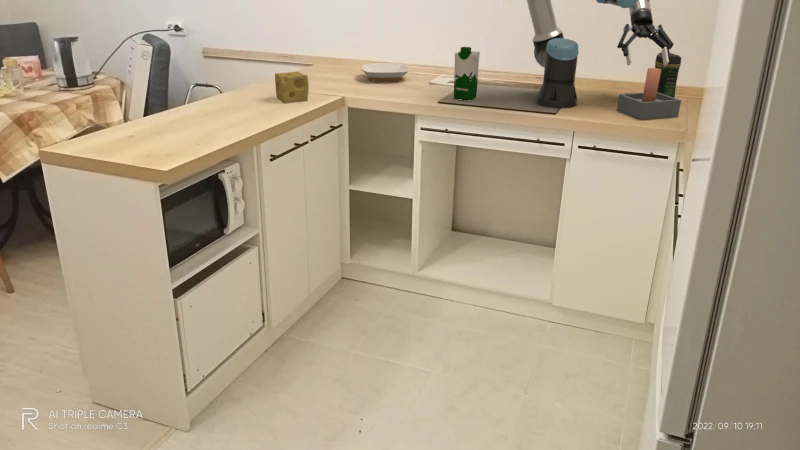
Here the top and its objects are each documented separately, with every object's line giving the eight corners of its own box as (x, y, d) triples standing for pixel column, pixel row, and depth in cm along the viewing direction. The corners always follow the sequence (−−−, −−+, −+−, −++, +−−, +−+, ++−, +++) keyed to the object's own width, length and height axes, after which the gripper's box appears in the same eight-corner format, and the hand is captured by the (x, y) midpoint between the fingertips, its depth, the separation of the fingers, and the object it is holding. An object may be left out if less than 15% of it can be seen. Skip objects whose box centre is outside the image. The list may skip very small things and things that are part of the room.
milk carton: (450, 99, 250) (452, 47, 242) (458, 95, 257) (461, 44, 249) (471, 102, 247) (474, 49, 238) (479, 97, 254) (482, 46, 246)
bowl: (359, 74, 294) (359, 63, 292) (406, 74, 297) (406, 62, 294) (362, 84, 275) (362, 72, 273) (412, 83, 277) (412, 71, 275)
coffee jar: (677, 103, 247) (686, 54, 239) (657, 104, 246) (666, 55, 238) (664, 98, 255) (672, 50, 248) (645, 98, 254) (653, 51, 247)
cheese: (283, 104, 242) (281, 77, 238) (275, 98, 251) (273, 72, 247) (309, 101, 246) (308, 75, 242) (300, 95, 255) (298, 70, 251)
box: (640, 119, 224) (643, 103, 222) (616, 110, 236) (618, 94, 234) (677, 116, 229) (681, 100, 226) (652, 107, 241) (655, 91, 238)
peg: (645, 115, 230) (653, 70, 223) (637, 112, 234) (645, 68, 227) (655, 114, 231) (663, 70, 225) (647, 111, 235) (655, 67, 228)
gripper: (669, 22, 244) (677, 70, 237) (604, 21, 243) (610, 68, 236) (677, 9, 237) (686, 58, 229) (611, 8, 236) (617, 56, 229)
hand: (648, 63), depth 233 cm, fingers open, 13 cm apart
